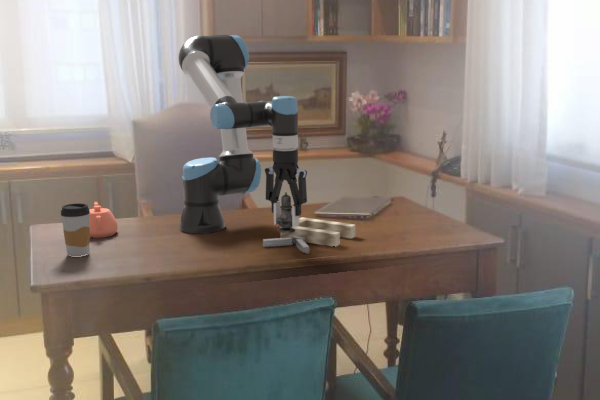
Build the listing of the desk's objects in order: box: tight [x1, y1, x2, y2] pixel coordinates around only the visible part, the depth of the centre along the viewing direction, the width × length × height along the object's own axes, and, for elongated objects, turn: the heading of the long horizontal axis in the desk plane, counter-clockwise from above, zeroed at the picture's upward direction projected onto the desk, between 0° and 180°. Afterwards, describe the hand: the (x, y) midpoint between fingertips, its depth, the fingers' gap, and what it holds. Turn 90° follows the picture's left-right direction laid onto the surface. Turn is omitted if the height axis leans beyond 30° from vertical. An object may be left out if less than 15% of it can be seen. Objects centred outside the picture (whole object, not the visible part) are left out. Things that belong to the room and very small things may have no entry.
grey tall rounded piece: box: [277, 192, 295, 234], centre depth 224 cm, size 6×6×12 cm
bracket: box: [279, 216, 356, 248], centre depth 239 cm, size 20×14×4 cm
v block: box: [262, 236, 310, 254], centre depth 229 cm, size 10×17×2 cm, turn 59°
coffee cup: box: [60, 202, 91, 256], centre depth 221 cm, size 8×8×15 cm
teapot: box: [89, 201, 119, 239], centre depth 246 cm, size 12×18×10 cm
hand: (286, 224), depth 225 cm, fingers closed on grey tall rounded piece, 6 cm apart
